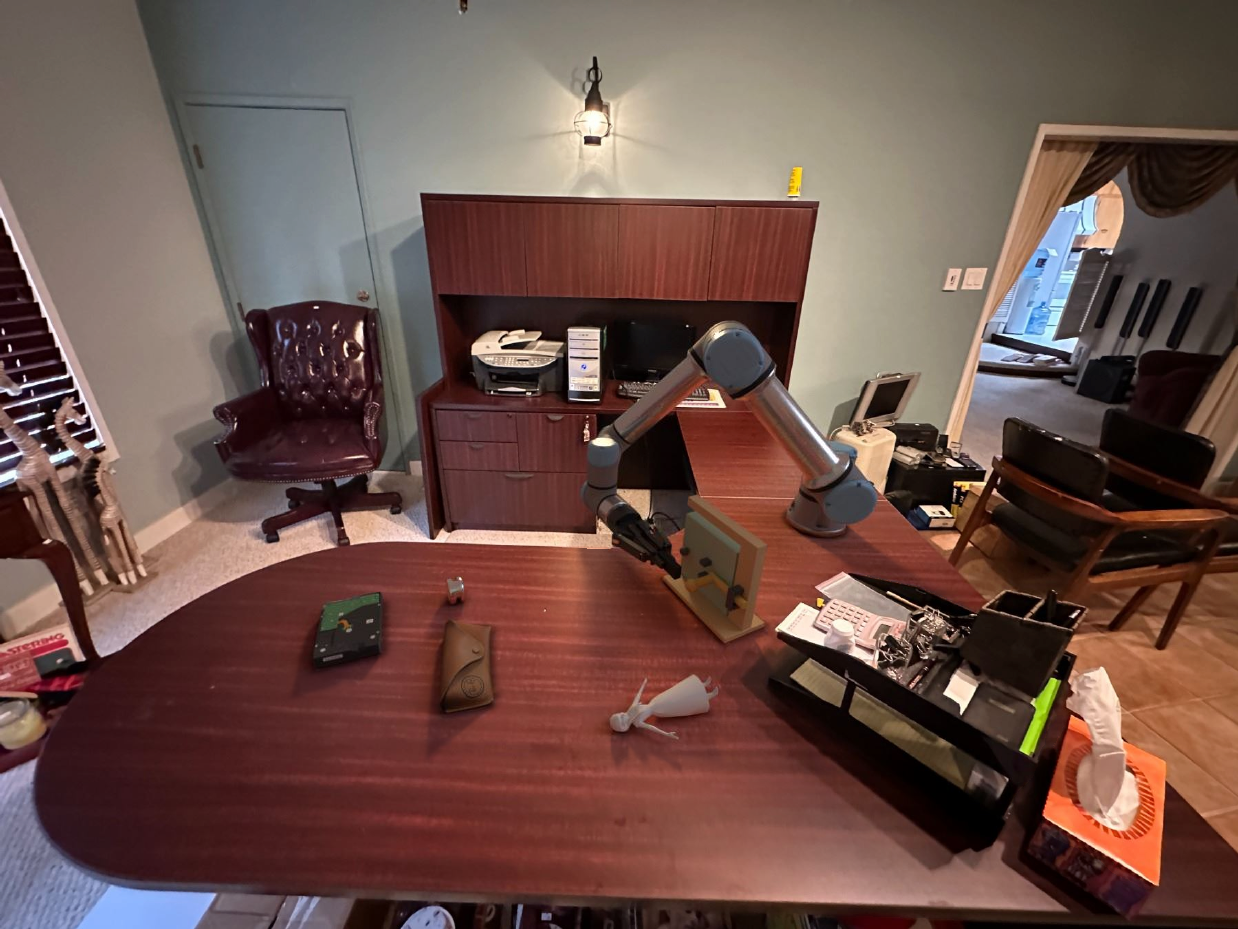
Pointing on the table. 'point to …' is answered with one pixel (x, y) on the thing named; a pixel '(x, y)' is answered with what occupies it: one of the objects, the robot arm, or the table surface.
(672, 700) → the woman figurine
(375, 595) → the disk drive
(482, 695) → the sunglasses case
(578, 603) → the table surface
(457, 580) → the grooved metal pulley
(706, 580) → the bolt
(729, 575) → the door
